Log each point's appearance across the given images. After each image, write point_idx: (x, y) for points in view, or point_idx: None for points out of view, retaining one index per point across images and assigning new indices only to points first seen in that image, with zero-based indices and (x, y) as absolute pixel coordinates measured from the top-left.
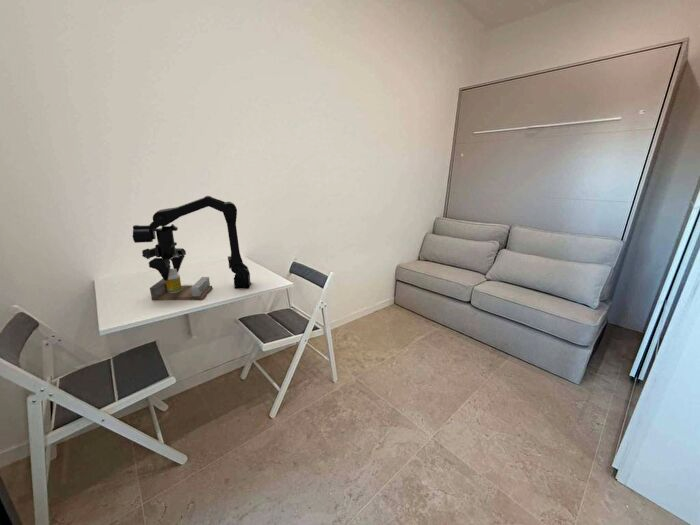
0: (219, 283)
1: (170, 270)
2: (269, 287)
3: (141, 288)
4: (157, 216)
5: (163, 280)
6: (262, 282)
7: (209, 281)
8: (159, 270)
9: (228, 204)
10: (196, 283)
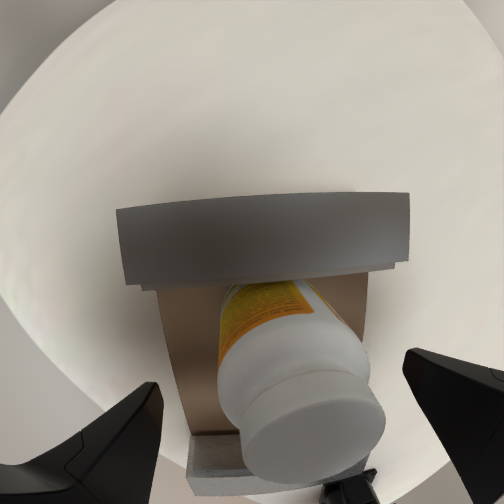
0: (394, 421)
1: (299, 452)
2: None
3: (337, 41)
4: None
5: (331, 227)
6: None
7: None
8: (41, 477)
9: None
10: (256, 478)
